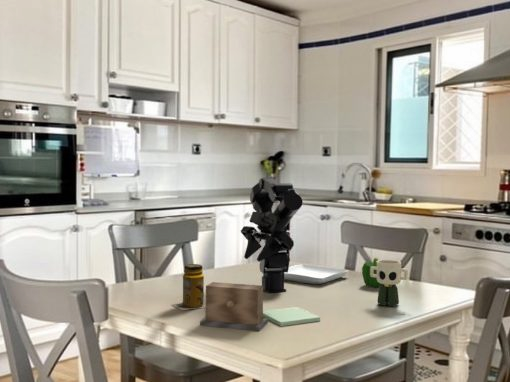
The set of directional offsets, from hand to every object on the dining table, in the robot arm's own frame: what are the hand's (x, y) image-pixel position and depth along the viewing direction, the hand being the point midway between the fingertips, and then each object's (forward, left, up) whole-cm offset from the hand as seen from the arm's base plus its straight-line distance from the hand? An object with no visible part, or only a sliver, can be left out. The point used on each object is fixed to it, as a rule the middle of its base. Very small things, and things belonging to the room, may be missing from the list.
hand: (251, 259), depth 168 cm
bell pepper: (-50, -6, -14) cm, 53 cm away
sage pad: (-3, +17, -14) cm, 22 cm away
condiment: (+17, -6, -14) cm, 23 cm away
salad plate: (-37, -26, -14) cm, 48 cm away
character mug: (-37, +17, -14) cm, 43 cm away
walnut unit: (+13, +16, -14) cm, 24 cm away
